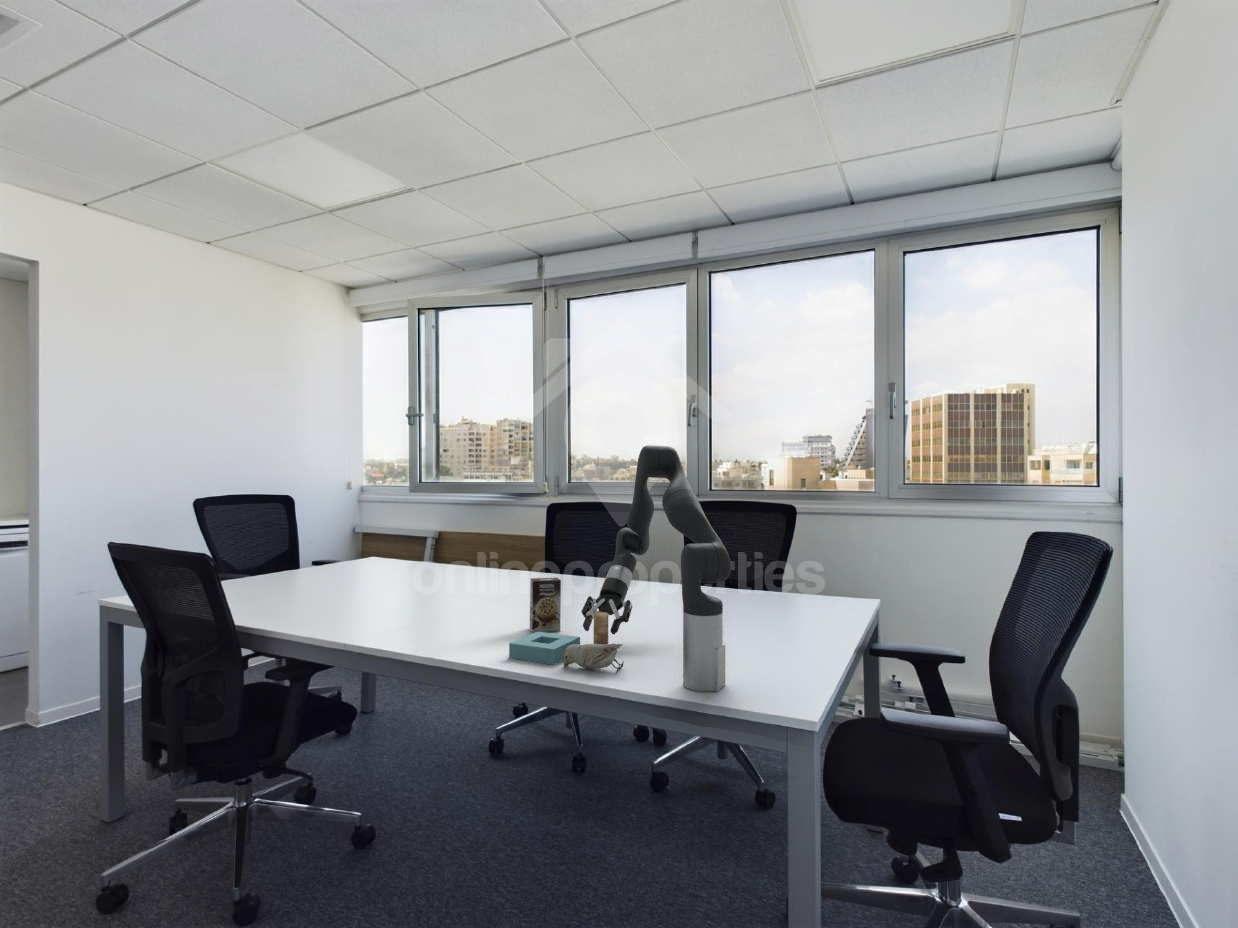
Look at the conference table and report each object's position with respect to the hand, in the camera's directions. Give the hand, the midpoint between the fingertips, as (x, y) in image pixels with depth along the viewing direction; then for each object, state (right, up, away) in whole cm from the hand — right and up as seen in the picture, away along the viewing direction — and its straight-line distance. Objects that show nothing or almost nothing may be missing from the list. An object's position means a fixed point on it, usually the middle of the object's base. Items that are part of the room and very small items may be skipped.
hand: (598, 631), depth 182 cm
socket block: (-15, -5, -5) cm, 16 cm away
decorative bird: (-1, -5, -18) cm, 19 cm away
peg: (+1, -5, +1) cm, 5 cm away
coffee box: (-18, -6, +23) cm, 30 cm away
